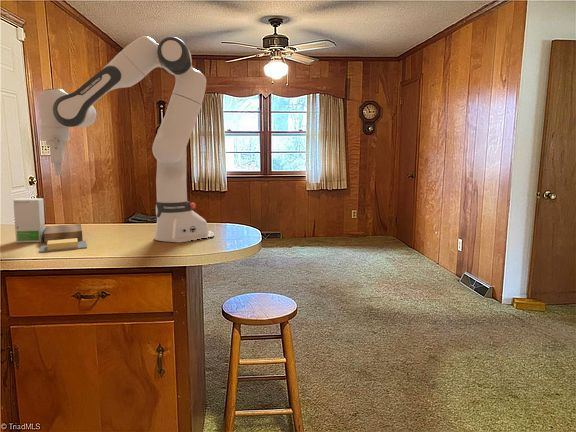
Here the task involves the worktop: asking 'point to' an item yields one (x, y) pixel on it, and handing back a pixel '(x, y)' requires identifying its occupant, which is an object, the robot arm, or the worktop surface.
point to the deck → (63, 232)
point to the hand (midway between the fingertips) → (58, 175)
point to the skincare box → (29, 219)
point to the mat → (80, 246)
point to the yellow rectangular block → (62, 244)
